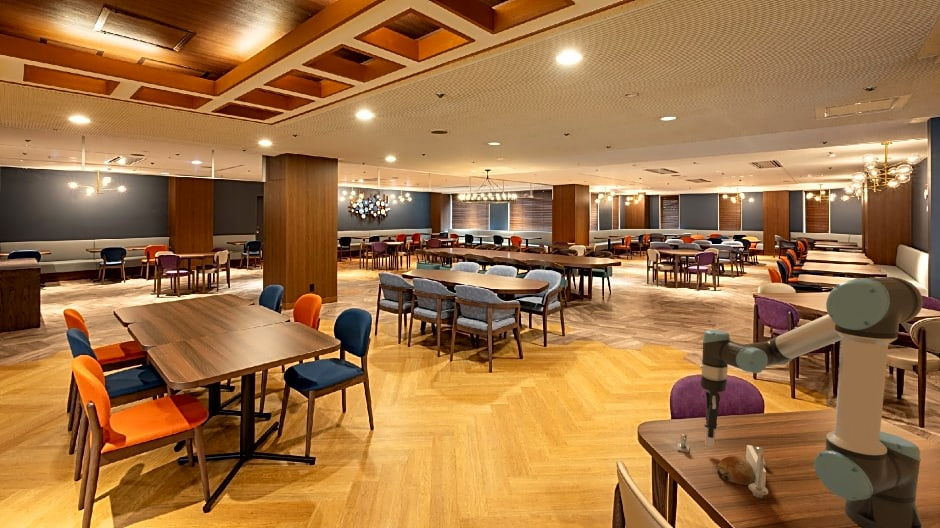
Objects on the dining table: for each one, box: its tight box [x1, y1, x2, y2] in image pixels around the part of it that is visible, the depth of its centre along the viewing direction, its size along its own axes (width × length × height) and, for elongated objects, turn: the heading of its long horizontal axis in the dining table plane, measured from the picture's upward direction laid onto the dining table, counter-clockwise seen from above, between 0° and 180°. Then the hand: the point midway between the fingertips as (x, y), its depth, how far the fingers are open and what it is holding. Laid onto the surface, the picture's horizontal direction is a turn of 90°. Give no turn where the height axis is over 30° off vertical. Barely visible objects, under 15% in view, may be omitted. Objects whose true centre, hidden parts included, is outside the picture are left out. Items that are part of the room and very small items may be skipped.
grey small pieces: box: [677, 433, 767, 468], centre depth 156 cm, size 4×26×5 cm, turn 66°
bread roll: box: [716, 455, 756, 486], centre depth 143 cm, size 10×10×8 cm
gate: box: [745, 444, 767, 487], centre depth 144 cm, size 2×17×5 cm, turn 161°
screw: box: [747, 452, 769, 499], centre depth 133 cm, size 13×5×5 cm
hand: (709, 444), depth 157 cm, fingers closed
